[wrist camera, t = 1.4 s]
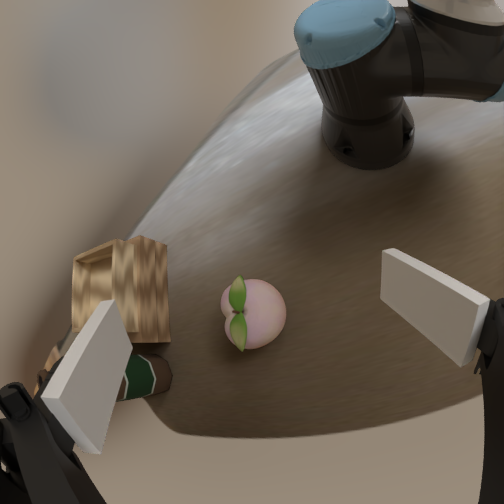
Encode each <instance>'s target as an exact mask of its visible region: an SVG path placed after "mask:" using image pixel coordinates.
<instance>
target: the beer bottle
mask: <svg viewBox="0 0 504 504" xmlns="http://www.w3.org/2000/svg"><path fill="white" fill-rule="evenodd" d="M48 374H49V371H48V372H47V371H46V369H44V370H41V371H39V372H38V374H37V383H38V387H39V388H40V386H41V385H42V383H43V381H45V378H46V376H47V375H48ZM172 376H173V375H172V373H171V370H170V368H169V365H168V362H167V361H166V360H164V359H162V358H161V357H159V356H158V355H156V354H140V355H130V357H129V360H128V363H127V366H126V369H125V372H124V376H123V379H122V382H121V385H120V388H119V391H118V395H117V398H116V401H115V402H118V401H124V400H130V399H135V398H141V397H146V396H151V395H154V394H158V393H161V392H163V391H166V390H168V389H169V388H170V384H171V380H172Z"/></svg>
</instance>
